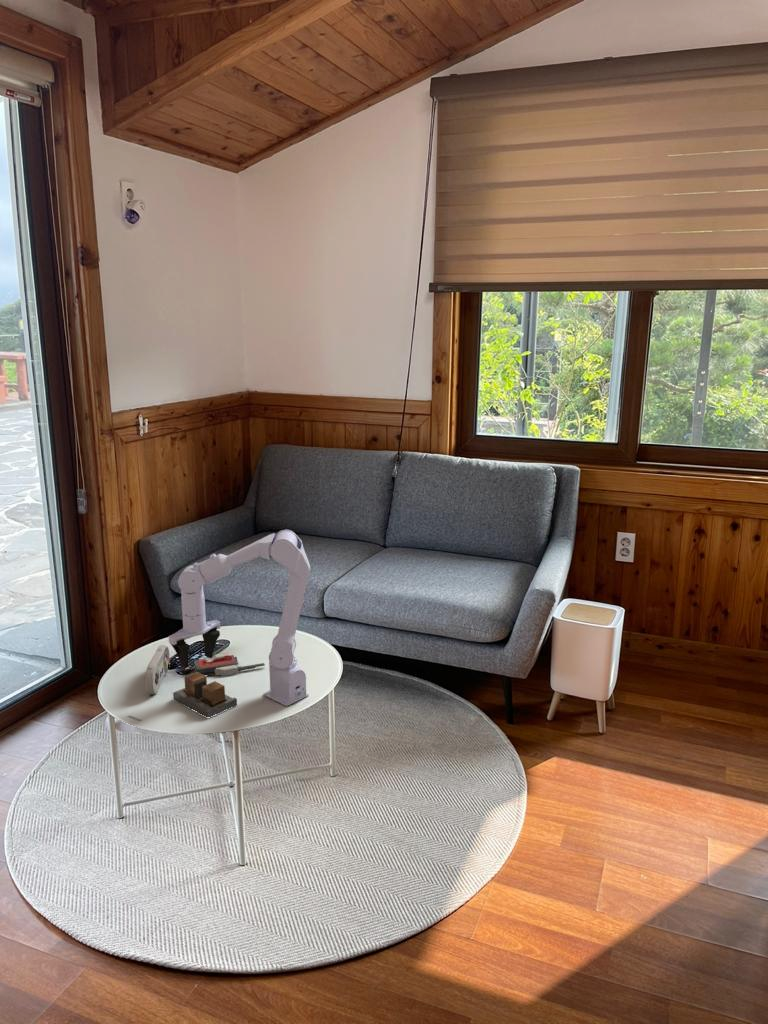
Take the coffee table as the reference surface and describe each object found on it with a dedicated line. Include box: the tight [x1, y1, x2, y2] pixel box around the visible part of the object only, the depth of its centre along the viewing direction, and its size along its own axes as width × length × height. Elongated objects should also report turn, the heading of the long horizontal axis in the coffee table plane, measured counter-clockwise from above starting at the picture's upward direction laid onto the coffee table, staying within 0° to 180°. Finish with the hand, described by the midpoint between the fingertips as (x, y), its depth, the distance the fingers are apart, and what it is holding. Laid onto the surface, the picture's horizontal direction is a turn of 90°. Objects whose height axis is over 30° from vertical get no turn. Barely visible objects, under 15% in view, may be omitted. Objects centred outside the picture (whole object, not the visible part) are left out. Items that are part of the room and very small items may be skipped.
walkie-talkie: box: [192, 652, 265, 677], centre depth 219 cm, size 9×4×20 cm
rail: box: [172, 680, 238, 718], centre depth 199 cm, size 15×9×6 cm, turn 48°
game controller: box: [144, 644, 171, 695], centre depth 210 cm, size 20×2×8 cm, turn 3°
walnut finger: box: [183, 671, 208, 699], centre depth 201 cm, size 5×4×6 cm
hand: (196, 661), depth 201 cm, fingers open, 7 cm apart
